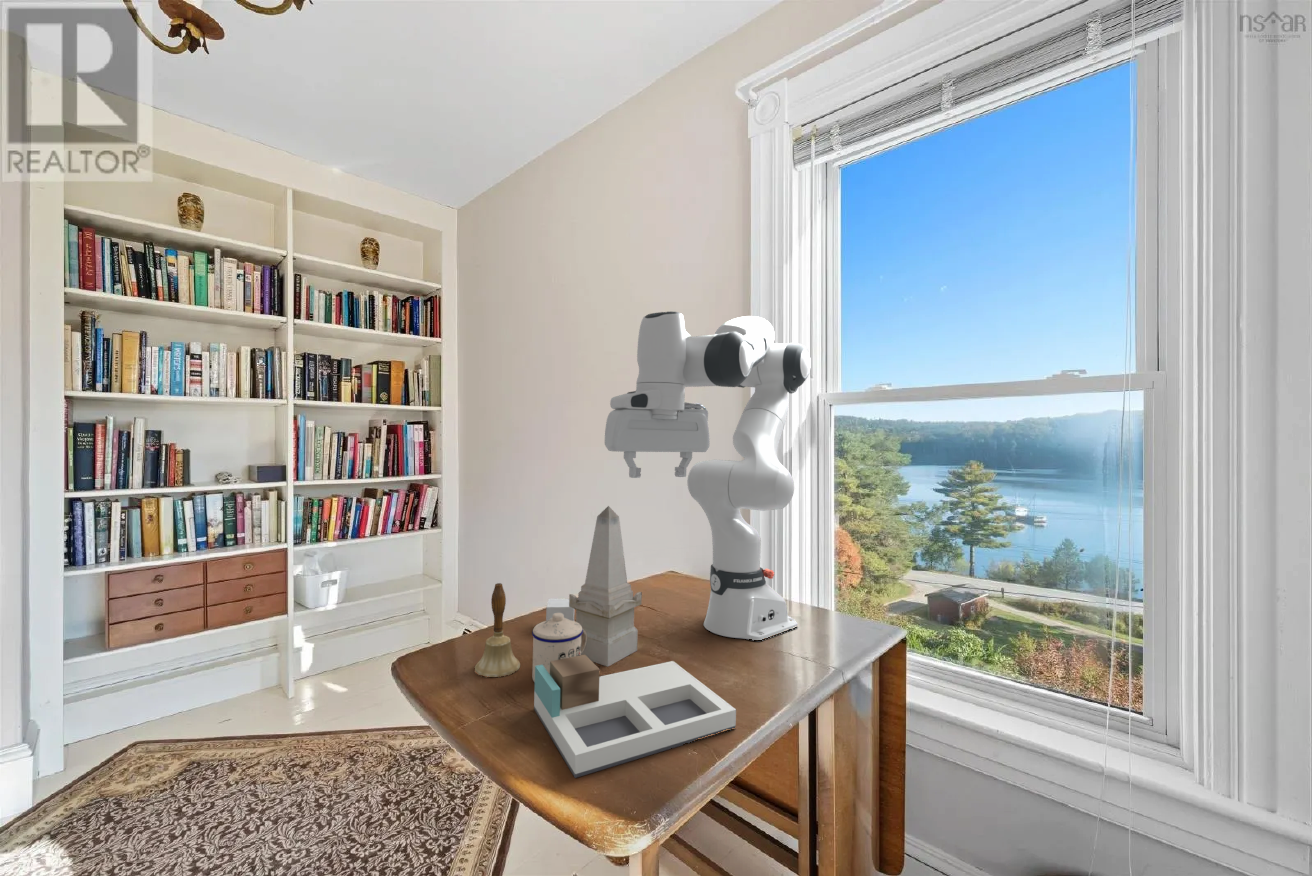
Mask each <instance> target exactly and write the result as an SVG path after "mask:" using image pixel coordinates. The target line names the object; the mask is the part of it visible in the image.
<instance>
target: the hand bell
mask: <svg viewBox="0 0 1312 876" xmlns="http://www.w3.org/2000/svg"><path fill="white" fill-rule="evenodd" d="M506 602H507V599H506V593H505V589H504V587H503V583H501V582H499V583H498V582H497V583H495V585H494V588H493V591H492V594H491V604H490V605H491V610H492V614H493V635H492V636H490V637H488V638H486V640H485V647H484V651H483V654H482V657H481V658H480V660H479V661H477V663H476V665H475V666H474V668H475V671H476V672H477V673H478V674H479V675H483V676H487V677H488V676H489V677H498V678H502V677H501V676H504V677H506V676H505V675H508V676H510V675H512V673H513V674H515V673H516V672H517V671H519V670H520V667H521V663H520V660H519V659H518V658H516V657H515V655H514V652H513V650H512V644H511V642H512V641H511V638H510V636H508V635H505V634H504V627H503V626H504V624H503V623H504V620H503V617H504V612H505V609H506V605H507V604H506ZM475 671H474V672H475ZM515 671H516V672H515ZM479 675H478V676H479ZM499 676H500V677H499ZM487 677H486V678H487Z"/></svg>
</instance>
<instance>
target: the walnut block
mask: <svg viewBox="0 0 1312 876" xmlns="http://www.w3.org/2000/svg"><path fill="white" fill-rule="evenodd" d="M600 673H601V672H600V668H599V667H598V666H597V665H596V663H595V662H593V661H591V660H590V659H589V658H588V657H587V656H586V655H580V656H575V657H570V658H565V659H560V660H554V661H550V676H551V677H552V678H553V680H554V681H555V682H556V684H557V685H558V686H559V688H560V708H561V709H562V710H564V709H568V708H572V707H576V706H580V705H584V704H588V703H592V702H596V701H599V677H600Z"/></svg>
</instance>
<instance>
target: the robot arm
mask: <svg viewBox="0 0 1312 876" xmlns="http://www.w3.org/2000/svg"><path fill="white" fill-rule="evenodd" d="M684 318H685V317H684V314H682V312H681V313H680V312H678V311H660V312H653V313H651V312H650V313H649V314H646V315H645V316H643V317H642V319H641V323H640V326H639V329H638V330H639V331H638V337H637V351H636V353H637V354H636V357H637V358H636V360H637V361H636V362H637V365H638V374H637V375H638V376H637V379H636V386H635V387H636V388H635V390H633V391H628V392H627V393H624V394H620V395H617V396H613V397H611V399H610V401H609V402H610V403H609V404H610V408H611V409H612V410H611V411H610V412H609V413H608V416H607V418H606V422H605V423H606V424H605V430H604V446H605V448H606V449H607V450H608V451H609V452H618V453H619V452H620V453H621V452H623V459H624V461H625V464H626V465H627V467H628V469H629V470H628V471H629V472H628V475H629V478H632V479H638V478H639V479H640V478H641V475H642V473H641V472H642V467H638V466H637V465H636V462H635V460H634V459H636V458H637V453H638V452H641V453H644V452H645V453H648V452H650V453H651V452H652V453H654V452H655V453H662V452H663V453H679V454H680V455H679V458H681V461H680V463H679V464H678V466H674V471H675V472H674V476H675V477H678V478H686V476H687V484H686V485H687V489H688V492H689V494H690V496H691V498H692V499H693V500H694V501H696V502H697V503H698V504H699V506H700V507H701V508H702V510H703V511H704V514H705V516H706V518H707V520H708V523H709V526H710V530H711V536H712V537H711V538H712V563H711V564H710V571H709V572H710V573H709V585H710V594H709V601H708V605H707V606H708V607H707V611H706V615H705V618H704V622H703V626H704V628H705V629H706V630H708V631H710V632H711V633H713V634H715V635H719V636H723V637H727V638H733V639H734V638H735V639H744V640H745V639H746V640H749V639H752V640H751V641H754V640H762V639H764V638H768V637H770V636H772V635H775V634H778V633H781V632H783V631H784V630H786V629H791V628H793V627H795V626H797V625H798V622H797V621H796V619H795V618H793V617H792V616H790V615H788V614H789V613H788V607H787V606H788V605H787V602H786V599H785V598H784V597H783V596H782V595H781V594H779V593H778V592H777V591H776V590H775V589H773V588H772V587H771V586H770V584H767V581H766V578H767V579H770V580H771V579H774V577H775V572H774V570H772V569H769V568H765V569H764V568H762V567H761V552H762V551H761V549H762V548H761V547H762V540H761V536H760V533H759V531H758V530H757V529H756V528H755V527H754V526H753V525H751V524H749V523H748V522H747V521H746V520H745V518H744V517H743V516H742V512H741V509H744V510H753V511H760V512H761V511H762V512H764V511H776V510H777V511H778V510H784V508H786V507H787V506H788V505H789V504H790V502H791V501H792V498H793V495H794V492H795V482H794V478H793V476H792V473H790V471H789V469H787V467H785V465H783V464H782V463H781V462H780V460H779V458H778V449H779V445H780V440H781V437H782V434H783V431H784V430H785V425H786V422H787V417H788V411H789V398H788V394H790V395H791V394H794V393H796V392H797V391H798V389H799V387H801V386H802V385H803V384H804V383H805V382H806V381H807V379H808V378H809V375H810V372H811V362H812V361H811V357H810V353H809V350H808V349H807V348H806V346H805V345H804V344H801V343H797V342H788V343H778V342H776V343H774V341H775V335H776V334H775V330H774V327H773V325H772V324H771V323H770V322H769V321H768V320H766V319H765V318H763V317H760V316H755V315H753V316H752V315H746V316H740V317H736V318H732V319H731V320H728V321H726V322H724V323H722V324H721V325H720V326H719V327H718V328H717V329H716V331H715V333H714V334H708V335H705V334H704V335H696V336H692V335H691V334H690V333H688V331H686V325H685V319H684ZM687 387H688V388H689V387H691V388H692V387H694V388H695V387H697V388H699V387H700V388H701V387H723V388H724V387H725V388H742V389H743V388H754V393H752V395H751V397H750V398H749V400H748V401H747V404H745V407H744V409H743V411H742V413H741V416H740V418H739V421H738V423H737V425H736V428H735V430H734V432H733V434H732V435H733V436H732V444H733V447H734V450H735V451H736V452H737V454H739V455H740V456H741V457H742V458H743V459H742V460H730V459H729V460H726V459H709V460H703V461H698V462H696V463H695V464H693V466H692V467H691V468H690V470H689V473H688V475H687V468H688V466H689V465H690V463H691V461H692V459H693V453H706V452H707V451H708V450H709V448H710V428H709V422H708V421H709V412H708V410H707V409H708V408H706V407H705V406H704V405H703V404H702V403H699V402H695V403H694V402H693V403H692V402H686V401H685V400H686V399H685V397H686V388H687ZM790 620H792V621H790ZM798 626H799V625H798ZM781 634H782V633H781ZM770 638H771V637H770ZM768 639H769V638H768ZM762 641H763V640H762Z"/></svg>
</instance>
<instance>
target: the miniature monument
mask: <svg viewBox="0 0 1312 876" xmlns="http://www.w3.org/2000/svg"><path fill="white" fill-rule="evenodd" d="M623 545H624V544H623V539H622V531H621V521H620V515H618V514H617V513H616V512H615V511H614V510H613V509H612V508H611V507H610V505H607V507H605V509H603V510H602V511H601V512H600V513H599V514H598V515H597V516H596V520H595V527H594V532H593V538H592V543H591V547H590V548H591V549H590V553H589V559H588V564H587V570H586V575H585V576H586V577H585V581H584V584H582V585H581V586H580V590H579V592H578V594H577V596H578V597H577V596H576V595H574V594H570V593H569V594H568V595H569V596H568V597H569V598H568V599H569V607H572V608H574V610H576V611H575V622H577V623H579V624H580V625H581V627H582V629H583V630H585V631H586V633H587V643H586V646H585V649H584V651H583V652H582V653H581V655H586V656H587V657H588V658H589V659H590V660H591V661H592V662H593V663H595V664H599V665H602V666H605V667H610V666H612V665H614V664H615V663H617V662H619V661H620V660H622V659H625V658H626V657H628V656H629V655H632V654H633V653H635V652H637V651H638V629H637V627H635V608H637V607H639V606H640V605H642V598H643V597H642V596H643V595H642V593H643V592H642V591H638V592H636V593H635V594H634V591H633V590H632V585H631V584H630V583H629V582H628V576H627V575H628V574H627V570H626V561H625V552H624V546H623Z"/></svg>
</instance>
